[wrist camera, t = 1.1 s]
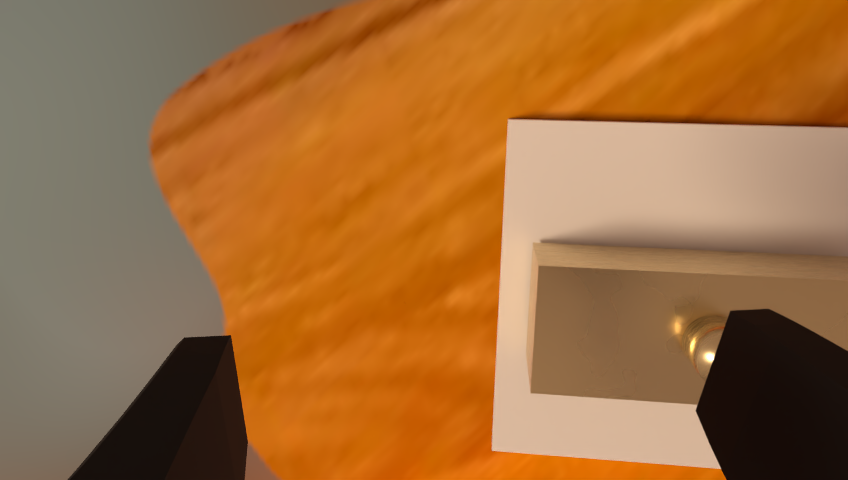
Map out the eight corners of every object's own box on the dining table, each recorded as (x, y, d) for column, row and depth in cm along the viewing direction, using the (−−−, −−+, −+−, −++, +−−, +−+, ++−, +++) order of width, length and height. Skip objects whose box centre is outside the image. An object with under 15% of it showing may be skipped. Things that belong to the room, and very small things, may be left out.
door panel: (940, 471, 23) (960, 487, 22) (492, 436, 24) (491, 450, 23) (1018, 131, 20) (1044, 133, 19) (507, 118, 22) (508, 119, 21)
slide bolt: (830, 373, 21) (917, 445, 17) (525, 354, 22) (533, 417, 18) (850, 256, 20) (948, 300, 16) (532, 242, 21) (542, 280, 17)
